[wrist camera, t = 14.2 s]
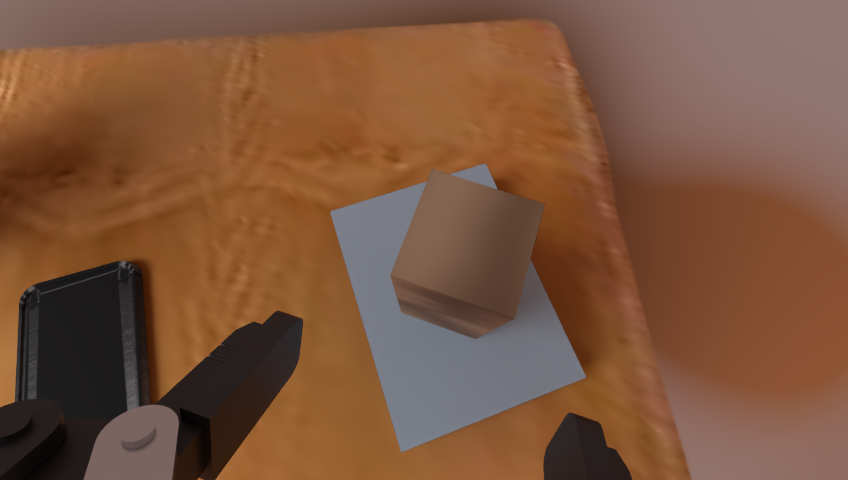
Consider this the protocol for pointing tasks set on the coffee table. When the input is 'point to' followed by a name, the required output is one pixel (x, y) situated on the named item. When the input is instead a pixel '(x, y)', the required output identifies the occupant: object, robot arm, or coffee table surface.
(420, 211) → the walnut block
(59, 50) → the coffee table surface
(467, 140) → the coffee table surface
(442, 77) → the coffee table surface
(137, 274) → the phone
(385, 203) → the base board
